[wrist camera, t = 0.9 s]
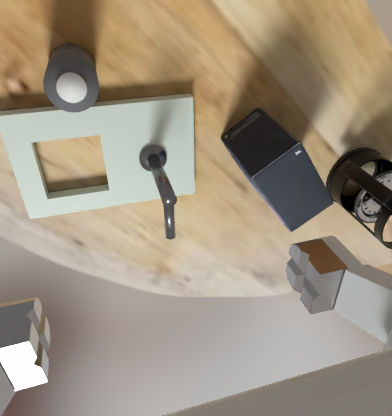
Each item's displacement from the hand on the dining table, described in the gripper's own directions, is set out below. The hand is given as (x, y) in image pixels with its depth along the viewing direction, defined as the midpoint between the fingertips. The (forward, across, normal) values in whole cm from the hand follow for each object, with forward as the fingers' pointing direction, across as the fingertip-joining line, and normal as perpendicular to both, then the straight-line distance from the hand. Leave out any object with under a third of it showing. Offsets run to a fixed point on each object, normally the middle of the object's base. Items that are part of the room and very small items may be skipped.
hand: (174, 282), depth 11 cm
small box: (+32, -18, +12) cm, 38 cm away
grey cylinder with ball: (+31, +3, 0) cm, 31 cm away
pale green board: (+31, +2, +9) cm, 33 cm away
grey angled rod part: (+30, -3, +12) cm, 32 cm away
